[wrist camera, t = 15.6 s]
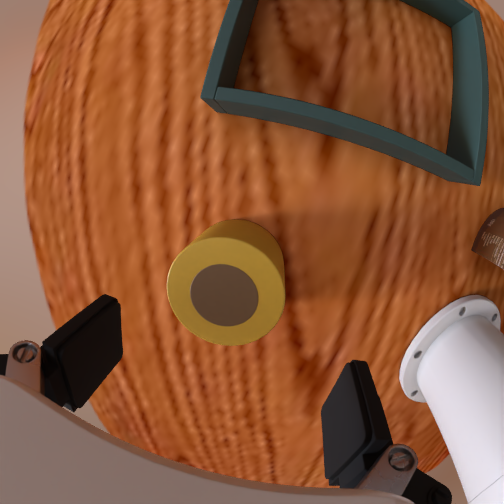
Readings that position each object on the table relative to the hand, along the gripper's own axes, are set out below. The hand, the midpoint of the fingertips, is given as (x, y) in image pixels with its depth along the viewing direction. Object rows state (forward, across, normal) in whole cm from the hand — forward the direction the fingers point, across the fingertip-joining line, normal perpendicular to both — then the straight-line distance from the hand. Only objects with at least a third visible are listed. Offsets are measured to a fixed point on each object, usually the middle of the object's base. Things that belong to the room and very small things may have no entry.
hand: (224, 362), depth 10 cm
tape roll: (+10, +1, 0) cm, 10 cm away
